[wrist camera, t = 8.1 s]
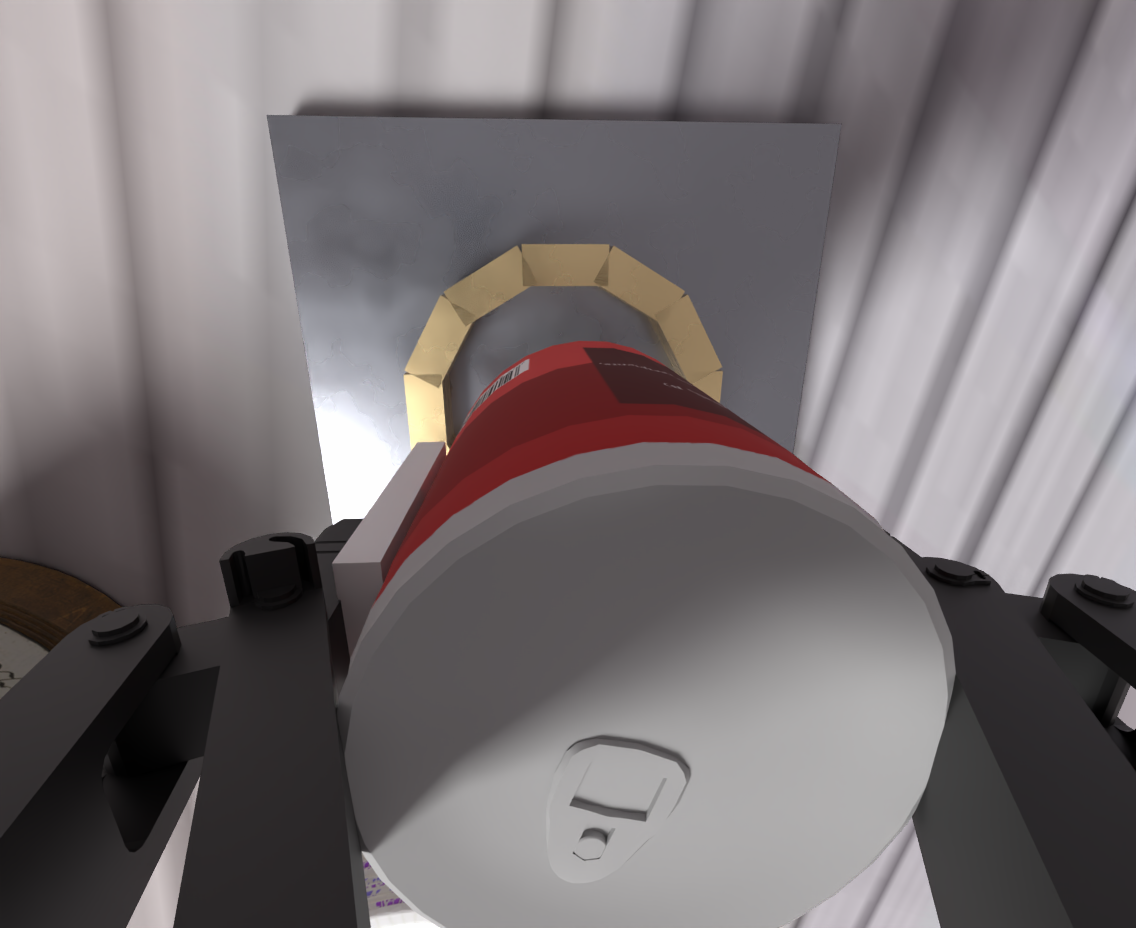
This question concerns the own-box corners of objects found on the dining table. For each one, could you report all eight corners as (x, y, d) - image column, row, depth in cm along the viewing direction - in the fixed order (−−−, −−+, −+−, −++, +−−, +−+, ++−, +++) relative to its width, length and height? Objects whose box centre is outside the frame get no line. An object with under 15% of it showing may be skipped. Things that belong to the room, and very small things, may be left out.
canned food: (455, 574, 18) (345, 986, 8) (456, 326, 15) (288, 437, 5) (683, 581, 18) (868, 974, 8) (721, 344, 16) (1068, 476, 6)
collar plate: (356, 599, 29) (334, 641, 26) (284, 125, 22) (239, 99, 18) (759, 586, 30) (787, 624, 27) (822, 133, 23) (871, 109, 19)
